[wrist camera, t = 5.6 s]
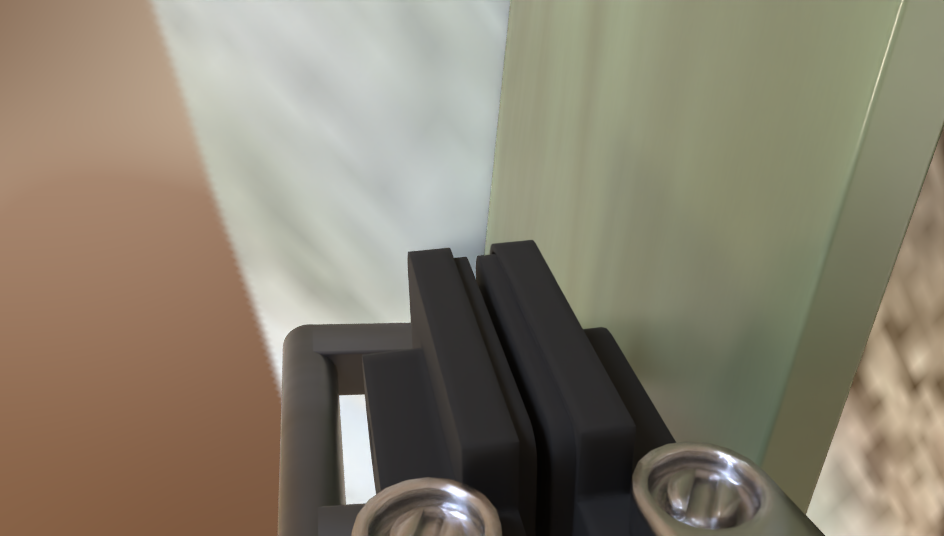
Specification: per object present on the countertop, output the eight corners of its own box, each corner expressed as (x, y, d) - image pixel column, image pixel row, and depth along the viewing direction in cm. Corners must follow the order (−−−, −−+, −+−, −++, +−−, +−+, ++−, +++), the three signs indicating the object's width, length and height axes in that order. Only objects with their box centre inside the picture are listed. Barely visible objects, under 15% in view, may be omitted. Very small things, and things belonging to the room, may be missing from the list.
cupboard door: (285, 338, 23) (271, 903, 12) (272, -336, 16) (204, -615, 5) (503, 334, 24) (690, 844, 13) (580, -299, 17) (1153, -449, 6)
